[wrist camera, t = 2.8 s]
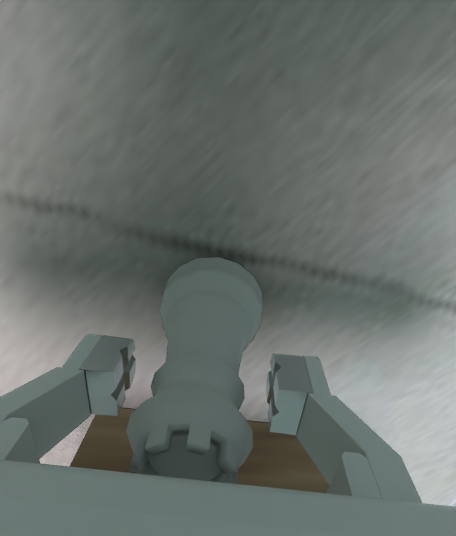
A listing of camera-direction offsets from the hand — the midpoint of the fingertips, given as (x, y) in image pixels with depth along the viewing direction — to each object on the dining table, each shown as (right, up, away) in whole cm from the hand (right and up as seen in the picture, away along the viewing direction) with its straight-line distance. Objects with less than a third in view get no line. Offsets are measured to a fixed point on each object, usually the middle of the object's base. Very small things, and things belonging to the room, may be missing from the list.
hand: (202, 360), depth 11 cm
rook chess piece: (0, +2, +4) cm, 4 cm away
